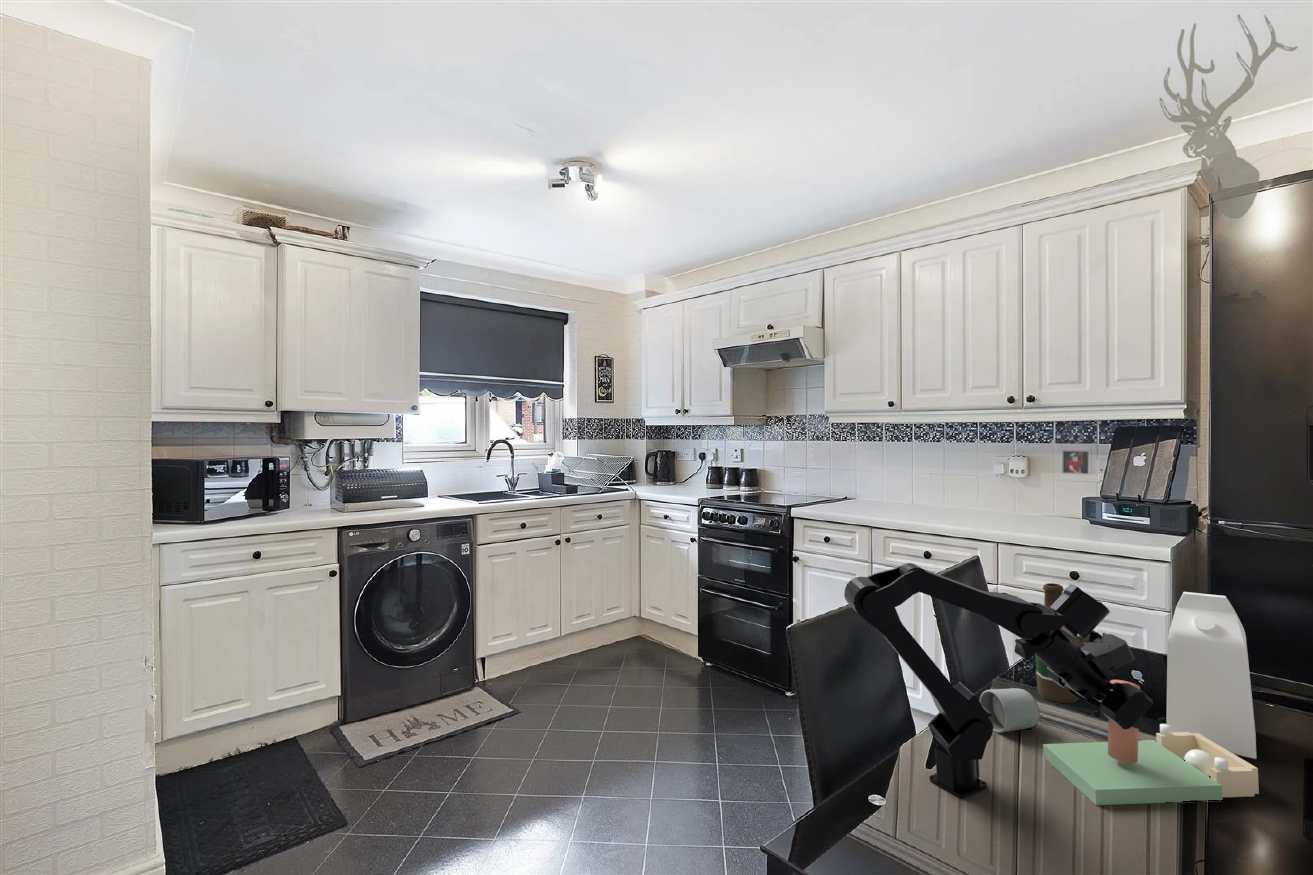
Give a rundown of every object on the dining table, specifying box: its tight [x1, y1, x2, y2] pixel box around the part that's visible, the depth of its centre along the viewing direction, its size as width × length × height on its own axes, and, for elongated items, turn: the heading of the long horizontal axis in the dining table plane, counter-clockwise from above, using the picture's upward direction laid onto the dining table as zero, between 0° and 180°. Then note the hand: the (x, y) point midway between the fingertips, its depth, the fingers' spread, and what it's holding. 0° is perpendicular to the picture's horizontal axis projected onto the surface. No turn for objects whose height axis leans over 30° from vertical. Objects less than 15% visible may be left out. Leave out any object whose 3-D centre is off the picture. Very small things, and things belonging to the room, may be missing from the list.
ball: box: [1184, 749, 1215, 776], centre depth 103 cm, size 4×4×4 cm
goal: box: [1155, 723, 1260, 798], centre depth 103 cm, size 7×13×6 cm, turn 178°
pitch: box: [1042, 739, 1224, 806], centre depth 104 cm, size 19×14×2 cm
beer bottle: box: [1034, 582, 1080, 704], centre depth 134 cm, size 8×8×24 cm
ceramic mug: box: [979, 687, 1041, 734], centre depth 124 cm, size 11×8×8 cm
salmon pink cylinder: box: [1107, 679, 1141, 763], centre depth 104 cm, size 4×4×12 cm
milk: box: [1165, 591, 1257, 760], centre depth 115 cm, size 12×12×26 cm
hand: (1133, 720), depth 104 cm, fingers closed on salmon pink cylinder, 4 cm apart
